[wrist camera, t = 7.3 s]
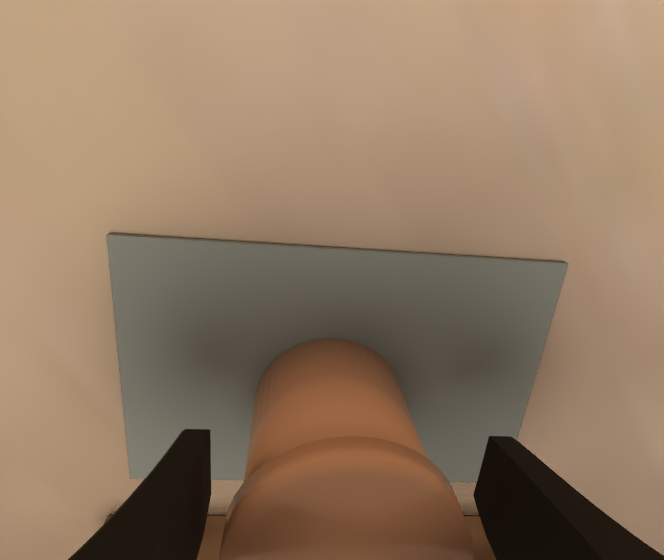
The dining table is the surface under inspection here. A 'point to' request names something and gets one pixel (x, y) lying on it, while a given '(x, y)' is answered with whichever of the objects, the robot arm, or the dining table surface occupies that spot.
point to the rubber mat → (322, 337)
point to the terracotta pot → (339, 467)
